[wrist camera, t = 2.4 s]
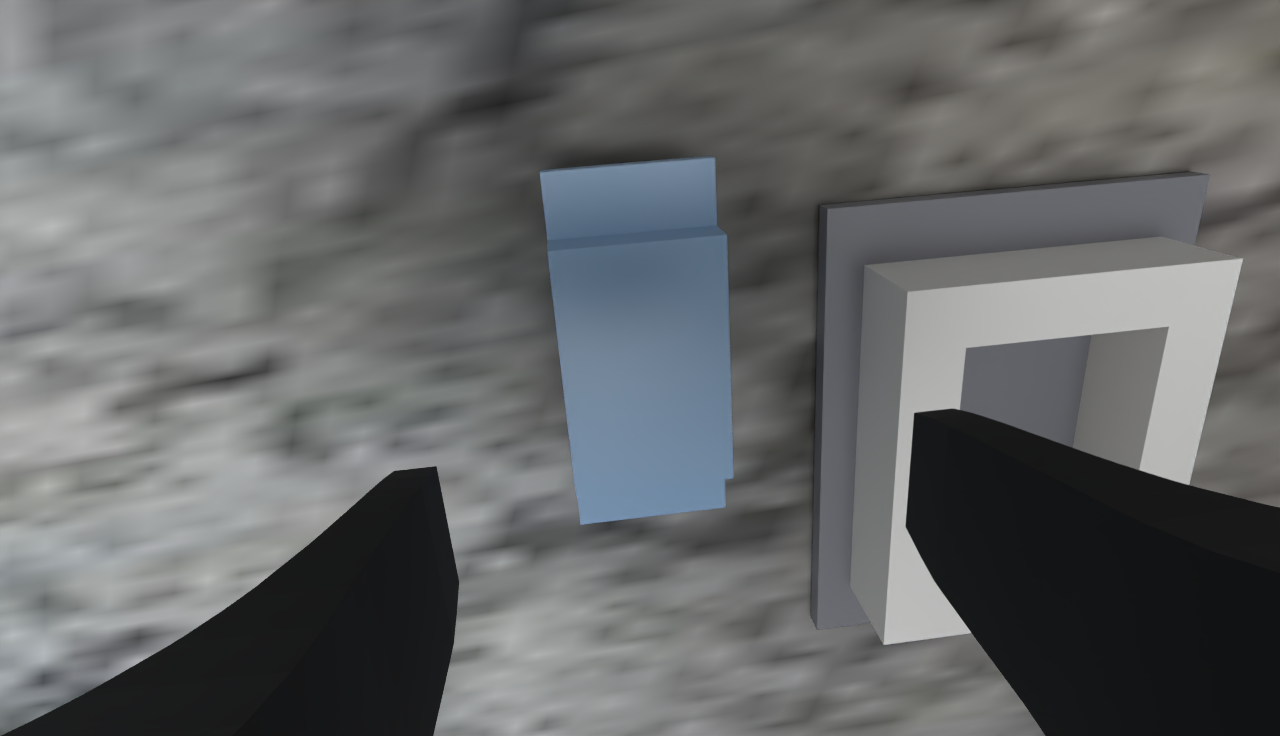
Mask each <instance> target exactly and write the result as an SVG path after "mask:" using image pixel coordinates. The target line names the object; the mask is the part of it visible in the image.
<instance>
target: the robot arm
mask: <svg viewBox="0 0 1280 736" xmlns="http://www.w3.org/2000/svg"><path fill="white" fill-rule="evenodd" d="M905 527H906V529H907V531H908V533H909V535H910V537H911V539H912V541H913V543H914V545H915V547H916V549H917V551H918V552H919V554H920V556H921V558H922V560H923V562H924V564H925V565H926V567H927V569H928V571H929V573H930V574H931V576H932V578H933V580H934V581H935V583H936V584H937V586H938V587H939V589H940V590H941V591H942V593H943V594H944V596H945V597H946V598H947V600H948V601H949V603H950V604H951V605H952V607H953V608H954V609H955V611H956V612H957V614H958V615H959V616H960V618H961V619H962V620H963V622H964V623H965V625H966V626H967V627H968V629H969V630H970V631H971V633H972V634H973V635H974V637H975V638H976V639H977V641H978V642H979V643H980V645H981V646H982V648H983V649H984V650H985V652H986V653H987V654H988V656H989V657H990V658H991V660H992V661H993V662H994V664H995V665H996V666H997V668H998V669H999V671H1000V672H1001V673H1002V675H1003V676H1004V677H1005V679H1006V680H1007V681H1008V683H1009V684H1010V685H1011V687H1012V688H1013V689H1014V691H1015V692H1016V693H1017V695H1018V696H1019V698H1020V699H1021V700H1022V702H1023V703H1024V704H1025V706H1026V707H1027V709H1028V710H1029V712H1030V713H1031V715H1032V716H1033V718H1034V719H1035V721H1036V722H1037V724H1038V725H1039V727H1040V728H1041V730H1042V731H1043V733H1044V734H1045V736H1280V508H1279V507H1274V506H1269V505H1265V504H1261V503H1257V502H1253V501H1249V500H1245V499H1241V498H1237V497H1233V496H1229V495H1225V494H1221V493H1217V492H1213V491H1209V490H1205V489H1201V488H1197V487H1194V486H1190V485H1187V484H1183V483H1180V482H1176V481H1173V480H1169V479H1166V478H1163V477H1160V476H1157V475H1153V474H1150V473H1147V472H1144V471H1141V470H1137V469H1134V468H1131V467H1128V466H1125V465H1121V464H1118V463H1116V462H1113V461H1110V460H1107V459H1104V458H1101V457H1098V456H1095V455H1092V454H1089V453H1086V452H1083V451H1080V450H1078V449H1075V448H1072V447H1069V446H1066V445H1064V444H1061V443H1058V442H1055V441H1052V440H1050V439H1047V438H1044V437H1041V436H1039V435H1036V434H1033V433H1030V432H1027V431H1025V430H1022V429H1019V428H1016V427H1014V426H1011V425H1008V424H1005V423H1002V422H999V421H996V420H993V419H990V418H987V417H984V416H981V415H978V414H974V413H971V412H967V411H963V410H958V409H953V408H952V409H943V410H934V411H925V412H916V413H914V421H913V434H912V447H911V460H910V473H909V486H908V499H907V512H906V526H905ZM458 589H459V579H458V574H457V569H456V564H455V559H454V554H453V549H452V544H451V539H450V533H449V528H448V523H447V518H446V513H445V508H444V503H443V498H442V493H441V487H440V482H439V477H438V472H437V467H436V466H435V467H426V468H418V469H409V470H400V471H394V472H392V473H391V474H389V475H388V476H387V477H385V478H384V479H383V480H382V481H381V482H379V483H378V484H377V485H376V486H375V487H374V488H373V489H371V490H370V491H369V492H368V493H367V494H366V495H365V496H364V497H362V498H361V499H360V500H359V501H358V502H357V503H356V504H355V505H354V506H352V507H351V508H350V509H349V510H348V511H347V512H346V513H345V514H343V515H342V516H341V517H340V518H339V519H338V520H337V521H335V522H334V523H333V524H332V525H331V526H330V527H329V528H327V529H326V530H325V531H324V532H323V533H322V534H321V535H319V536H318V537H317V538H316V539H315V540H314V541H313V542H311V543H310V544H309V545H308V546H306V547H305V548H304V549H303V550H301V551H300V552H299V553H298V554H296V555H295V556H294V557H293V558H291V559H290V560H289V561H288V562H286V563H285V564H284V565H283V566H281V567H280V568H279V569H278V570H276V571H275V572H274V573H273V574H271V575H270V576H269V577H268V578H266V579H265V580H264V581H263V582H261V583H260V584H259V585H258V586H256V587H255V588H254V589H252V590H251V591H250V592H248V593H247V594H246V595H244V596H243V597H241V598H240V599H239V600H237V601H236V602H234V603H233V604H232V605H230V606H229V607H227V608H226V609H224V610H223V611H222V612H220V613H219V614H217V615H216V616H214V617H212V618H211V619H209V620H208V621H206V622H205V623H203V624H202V625H200V626H199V627H197V628H196V629H194V630H193V631H191V632H190V633H188V634H187V635H185V636H184V637H182V638H181V639H179V640H177V641H176V642H174V643H173V644H171V645H169V646H168V647H166V648H164V649H162V650H161V651H159V652H157V653H155V654H154V655H152V656H150V657H148V658H147V659H145V660H143V661H142V662H140V663H138V664H136V665H135V666H133V667H131V668H129V669H128V670H126V671H124V672H122V673H121V674H119V675H117V676H115V677H114V678H112V679H110V680H109V681H107V682H105V683H103V684H102V685H100V686H98V687H96V688H95V689H93V690H91V691H89V692H87V693H85V694H84V695H82V696H80V697H78V698H76V699H74V700H72V701H70V702H68V703H66V704H64V705H62V706H60V707H58V708H56V709H55V710H53V711H51V712H49V713H47V714H45V715H43V716H41V717H39V718H37V719H35V720H33V721H31V722H29V723H27V724H25V725H23V726H21V727H18V728H16V729H14V730H12V731H10V732H8V733H6V734H4V735H2V736H433V734H434V730H435V725H436V721H437V716H438V712H439V708H440V703H441V699H442V695H443V690H444V686H445V681H446V676H447V672H448V667H449V663H450V658H451V654H452V649H453V644H454V635H455V625H456V615H457V602H458Z"/></svg>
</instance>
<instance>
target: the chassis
mask: <svg viewBox="0 0 1280 736" xmlns="http://www.w3.org/2000/svg"><path fill="white" fill-rule="evenodd" d="M1209 176H1210V175H1209V174H1203V173H1196V172H1182V173H1171V174H1160V175H1149V176H1138V177H1127V178H1115V179H1104V180H1093V181H1082V182H1071V183H1060V184H1049V185H1037V186H1026V187H1015V188H1004V189H993V190H982V191H971V192H959V193H948V194H937V195H926V196H915V197H904V198H893V199H881V200H870V201H859V202H848V203H837V204H826V205H820V207H819V255H818V303H817V350H816V398H815V445H814V493H813V540H812V588H811V618H812V620H813V622H814V625H815V627H816V629H817V630H820V629H828V628H835V627H843V626H851V625H858V624H866V623H871V624H872V625H873V627H874V629H875V631H876V632H877V634H878V636H879V638H880V639H881V641H882V643H883V645H887V644H894V643H902V642H909V641H917V640H924V639H931V638H939V637H946V636H954V635H961V634H969V633H971V631H970V630H969V629H968V627H967V626H966V625H965V623H964V622H963V620H962V619H961V618H960V616H959V615H958V614H957V612H956V611H955V609H954V608H953V607H952V605H951V604H950V603H949V601H948V600H947V598H946V597H945V596H944V594H943V593H942V591H941V590H940V589H939V587H938V586H937V584H936V583H935V581H934V580H933V578H932V576H931V574H930V573H929V571H928V569H927V567H926V565H925V564H924V562H923V560H922V558H921V556H920V554H919V552H918V551H917V549H916V547H915V545H914V543H913V541H912V539H911V537H910V535H909V533H908V531H907V529H906V527H905V526H906V512H907V499H908V486H909V473H910V460H911V447H912V434H913V421H914V413H916V412H925V411H934V410H943V409H952V408H953V409H958V410H963V411H967V412H971V413H974V414H978V415H981V416H984V417H987V418H990V419H993V420H996V421H999V422H1002V423H1005V424H1008V425H1011V426H1014V427H1016V428H1019V429H1022V430H1025V431H1027V432H1030V433H1033V434H1036V435H1039V436H1041V437H1044V438H1047V439H1050V440H1052V441H1055V442H1058V443H1061V444H1064V445H1066V446H1069V447H1072V448H1075V449H1078V450H1080V451H1083V452H1086V453H1089V454H1092V455H1095V456H1098V457H1101V458H1104V459H1107V460H1110V461H1113V462H1116V463H1118V464H1121V465H1125V466H1128V467H1131V468H1134V469H1137V470H1141V471H1144V472H1147V473H1150V474H1153V475H1157V476H1160V477H1163V478H1166V479H1169V480H1173V481H1176V482H1180V483H1183V484H1187V485H1189V483H1190V479H1191V475H1192V471H1193V467H1194V462H1195V458H1196V454H1197V450H1198V446H1199V441H1200V437H1201V433H1202V429H1203V425H1204V420H1205V416H1206V412H1207V408H1208V404H1209V400H1210V395H1211V391H1212V387H1213V383H1214V379H1215V374H1216V370H1217V366H1218V362H1219V358H1220V353H1221V349H1222V345H1223V341H1224V337H1225V332H1226V328H1227V324H1228V320H1229V316H1230V311H1231V307H1232V303H1233V299H1234V295H1235V291H1236V286H1237V282H1238V278H1239V274H1240V270H1241V265H1242V261H1243V258H1239V257H1236V256H1232V255H1228V254H1225V253H1221V252H1217V251H1213V250H1210V249H1206V248H1202V247H1199V246H1195V242H1196V237H1197V232H1198V227H1199V223H1200V218H1201V213H1202V209H1203V204H1204V199H1205V195H1206V190H1207V185H1208V180H1209Z"/></svg>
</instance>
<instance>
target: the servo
mask: <svg viewBox="0 0 1280 736" xmlns="http://www.w3.org/2000/svg"><path fill="white" fill-rule="evenodd" d="M540 180H541V189H542V197H543V206H544V214H545V223H546V231H547V240H548V243H547V254H548V263H549V271H550V280H551V288H552V297H553V305H554V314H555V323H556V331H557V340H558V348H559V357H560V365H561V374H562V382H563V391H564V399H565V408H566V416H567V425H568V433H569V442H570V450H571V459H572V467H573V476H574V484H575V493H576V497H578V506H579V515H580V523H581V524H590V523H598V522H607V521H615V520H623V519H632V518H640V517H649V516H657V515H665V514H674V513H682V512H691V511H699V510H708V509H716V508H724V507H726V500H725V479H732V478H733V443H732V404H731V366H730V328H729V289H728V251H727V234H726V233H725V232H724V231H722V230H721V229H720V228H719V227H718V226H717V208H716V176H715V157H713V156H702V157H690V158H678V159H666V160H654V161H642V162H630V163H618V164H606V165H594V166H582V167H570V168H559V169H547V170H540Z"/></svg>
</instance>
